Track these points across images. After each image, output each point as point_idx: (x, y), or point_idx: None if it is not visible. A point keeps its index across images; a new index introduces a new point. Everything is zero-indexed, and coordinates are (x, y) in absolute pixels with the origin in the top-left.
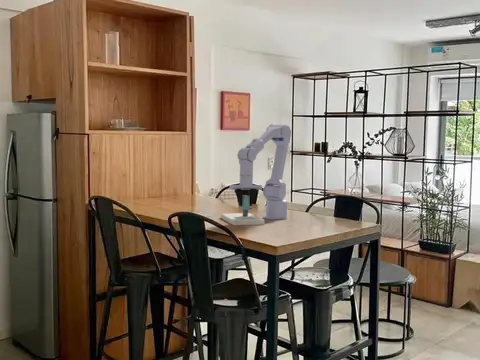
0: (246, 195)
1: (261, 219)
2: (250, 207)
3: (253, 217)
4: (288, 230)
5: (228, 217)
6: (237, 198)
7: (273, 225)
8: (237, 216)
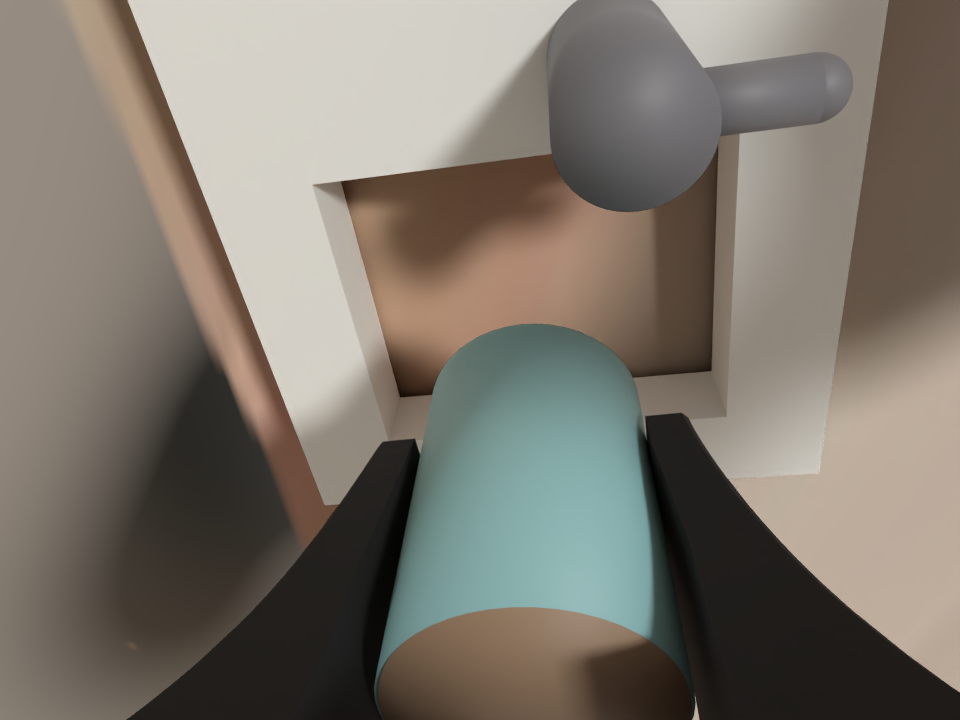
0: (586, 682)
1: (790, 434)
2: (788, 125)
3: (734, 239)
4: None
5: (231, 240)
6: (289, 580)
7: (918, 449)
8: (418, 116)
